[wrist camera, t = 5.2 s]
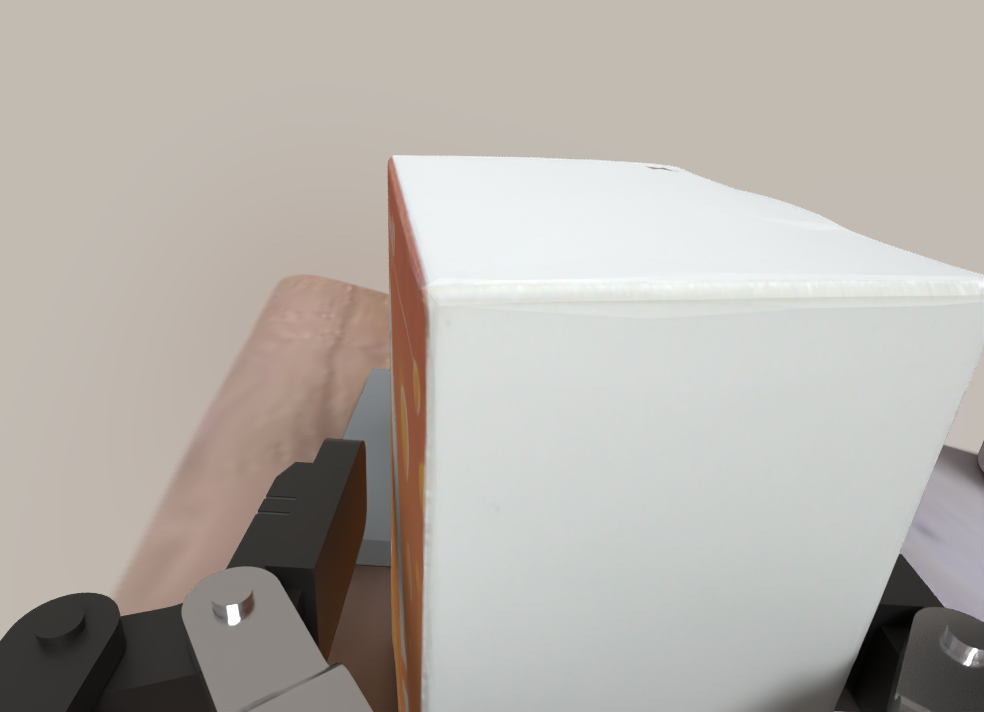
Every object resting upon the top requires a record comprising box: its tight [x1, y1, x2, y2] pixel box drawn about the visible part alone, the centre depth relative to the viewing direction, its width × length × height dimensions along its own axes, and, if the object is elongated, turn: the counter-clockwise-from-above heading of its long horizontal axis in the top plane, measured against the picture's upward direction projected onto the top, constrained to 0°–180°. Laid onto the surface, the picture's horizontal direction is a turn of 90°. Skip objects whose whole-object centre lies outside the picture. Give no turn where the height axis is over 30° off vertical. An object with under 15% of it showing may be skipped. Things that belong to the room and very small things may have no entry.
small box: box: [388, 155, 984, 712], centre depth 12 cm, size 8×6×13 cm
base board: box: [343, 369, 391, 566], centre depth 26 cm, size 14×12×1 cm
